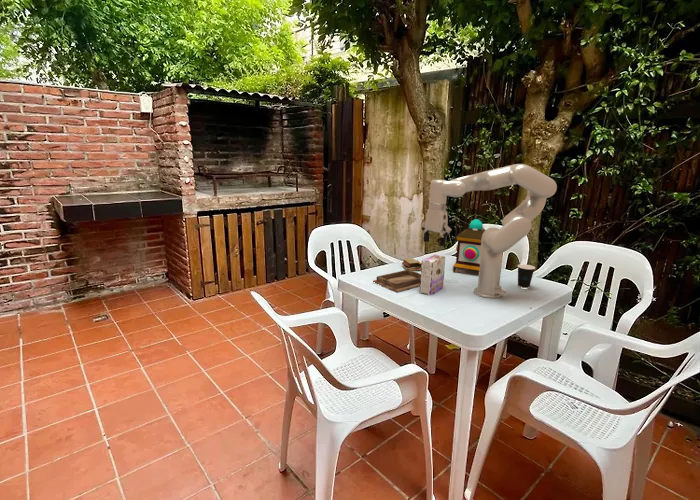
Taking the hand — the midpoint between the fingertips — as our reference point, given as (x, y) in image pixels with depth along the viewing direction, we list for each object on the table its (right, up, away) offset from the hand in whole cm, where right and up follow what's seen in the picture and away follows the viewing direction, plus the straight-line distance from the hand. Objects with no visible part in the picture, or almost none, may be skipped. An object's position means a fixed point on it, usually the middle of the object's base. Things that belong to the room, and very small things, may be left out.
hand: (434, 243), depth 173 cm
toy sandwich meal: (-3, -14, +42) cm, 45 cm away
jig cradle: (-13, -20, +16) cm, 28 cm away
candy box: (0, -23, +6) cm, 24 cm away
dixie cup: (+47, -22, +12) cm, 54 cm away
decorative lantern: (+30, -15, +38) cm, 51 cm away
